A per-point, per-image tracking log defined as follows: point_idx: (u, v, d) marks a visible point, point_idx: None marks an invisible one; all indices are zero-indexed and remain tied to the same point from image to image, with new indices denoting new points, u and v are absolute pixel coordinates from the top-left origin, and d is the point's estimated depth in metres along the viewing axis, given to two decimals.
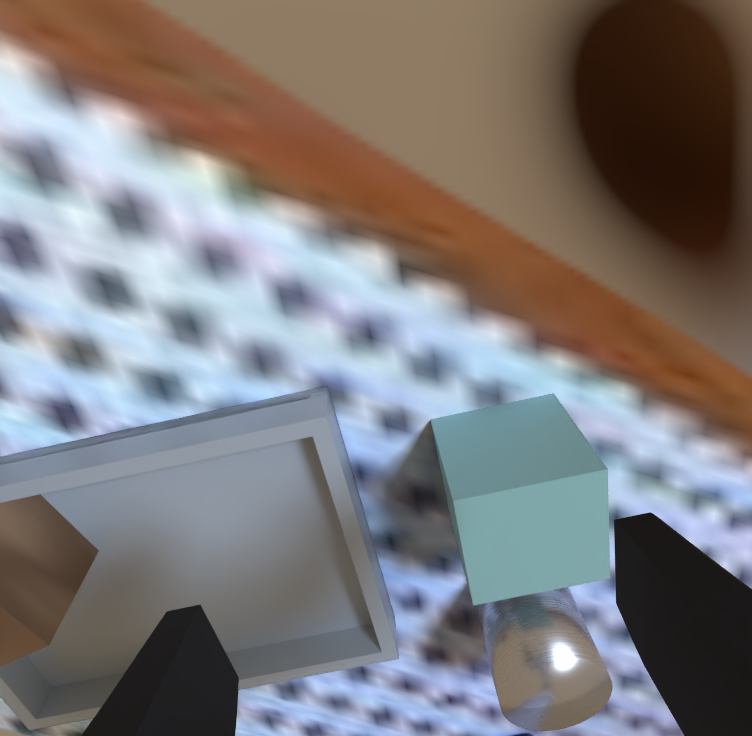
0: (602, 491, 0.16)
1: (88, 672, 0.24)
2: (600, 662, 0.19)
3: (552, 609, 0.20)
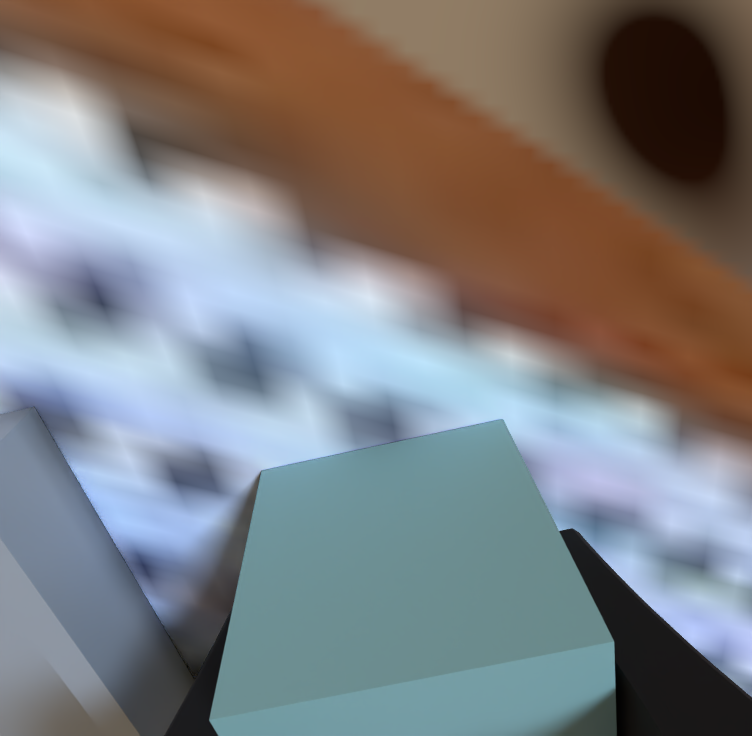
0: (601, 690, 0.06)
1: None
2: None
3: None
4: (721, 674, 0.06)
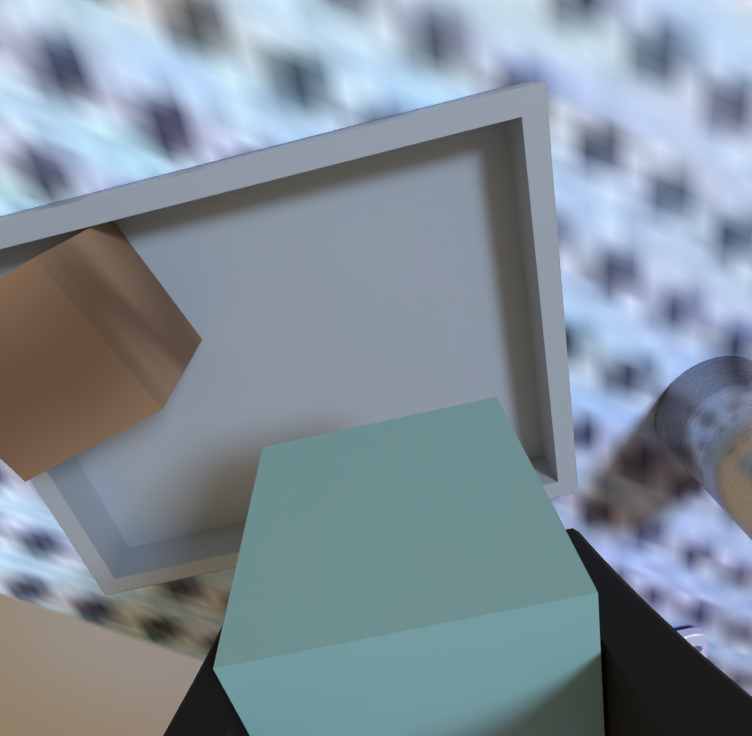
0: (586, 641, 0.07)
1: (176, 526, 0.19)
2: None
3: None
4: (722, 674, 0.06)
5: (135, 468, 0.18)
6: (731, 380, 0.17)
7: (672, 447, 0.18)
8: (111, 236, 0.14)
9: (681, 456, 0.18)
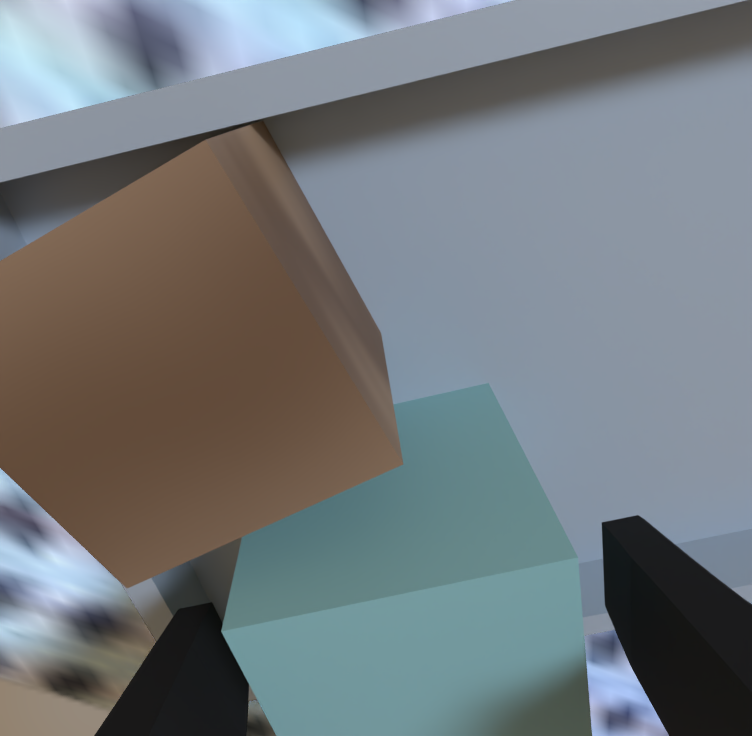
0: (568, 604, 0.07)
1: None
2: None
3: None
4: None
5: None
6: None
7: None
8: (272, 149, 0.08)
9: None
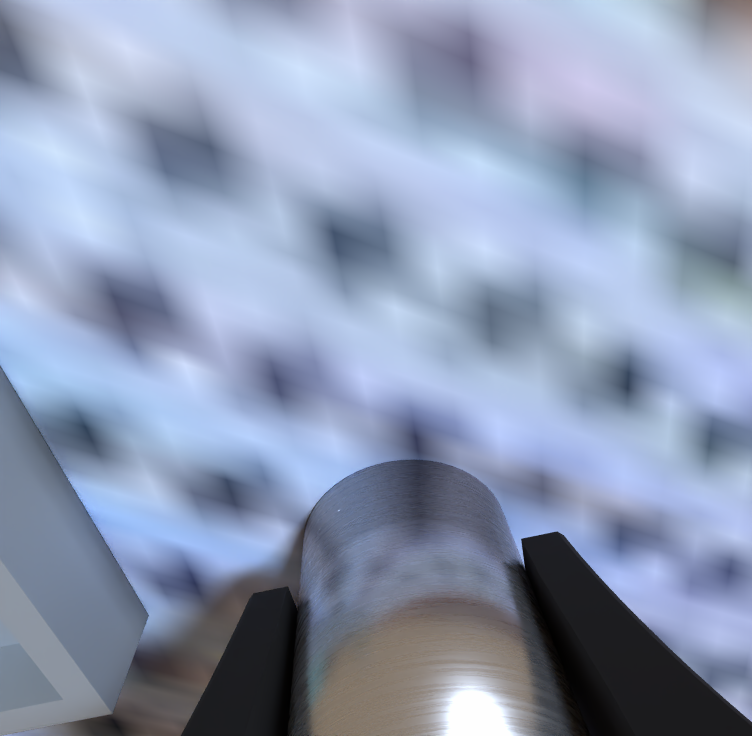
0: None
1: None
2: None
3: (453, 593, 0.07)
4: (699, 679, 0.06)
5: None
6: (370, 520, 0.09)
7: None
8: None
9: None
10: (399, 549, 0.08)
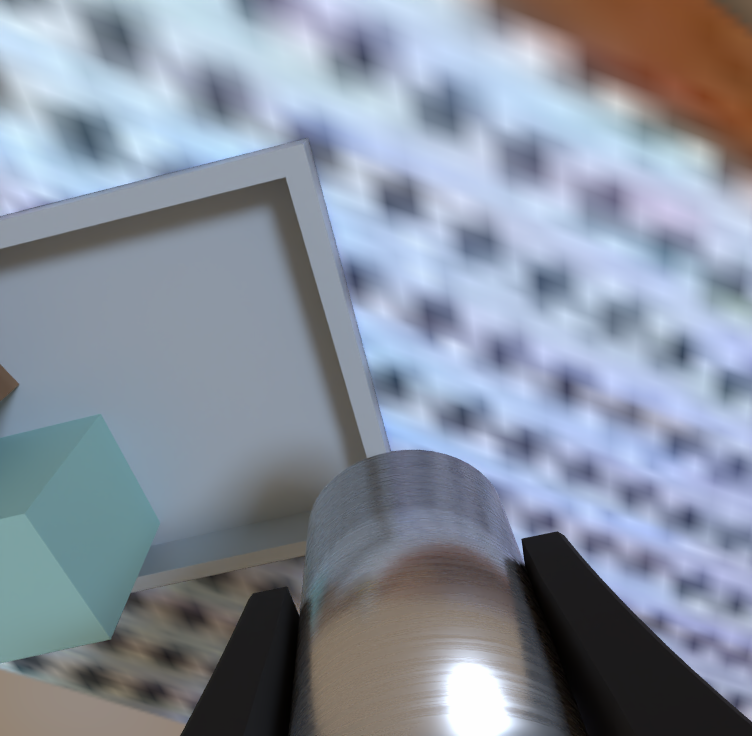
0: (34, 539, 0.13)
1: None
2: (564, 721, 0.06)
3: (438, 573, 0.08)
4: (700, 678, 0.06)
5: None
6: (363, 510, 0.09)
7: None
8: None
9: None
10: (388, 534, 0.08)
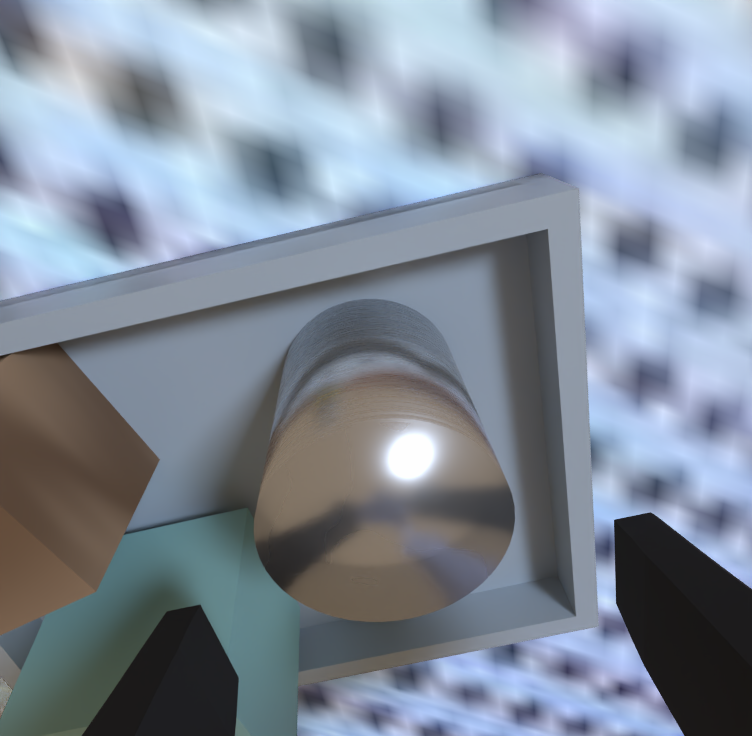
0: None
1: None
2: (473, 436, 0.08)
3: (379, 358, 0.09)
4: None
5: None
6: (323, 335, 0.11)
7: None
8: (42, 356, 0.11)
9: None
10: (341, 343, 0.10)
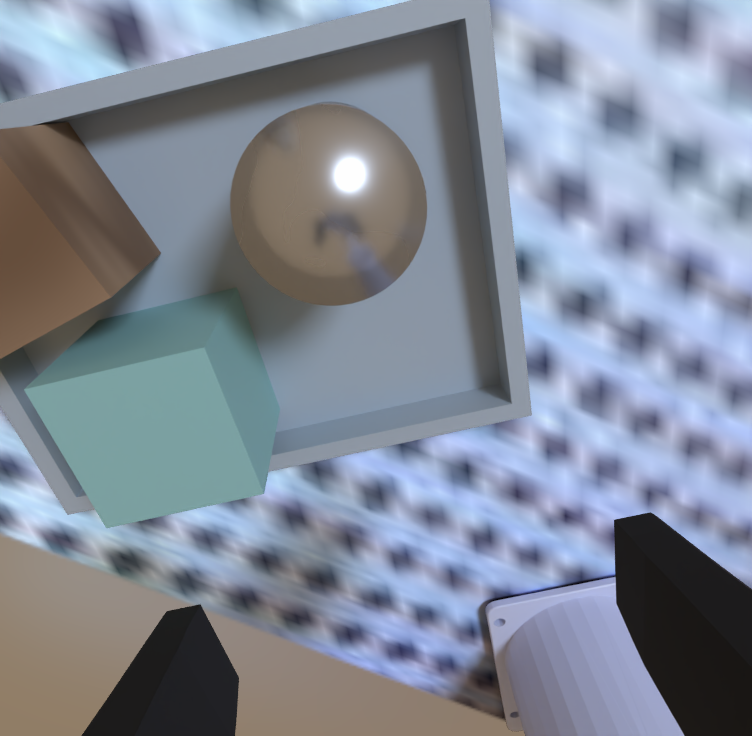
0: (209, 377, 0.13)
1: None
2: (393, 131, 0.11)
3: None
4: None
5: None
6: None
7: None
8: (67, 138, 0.14)
9: None
10: None
